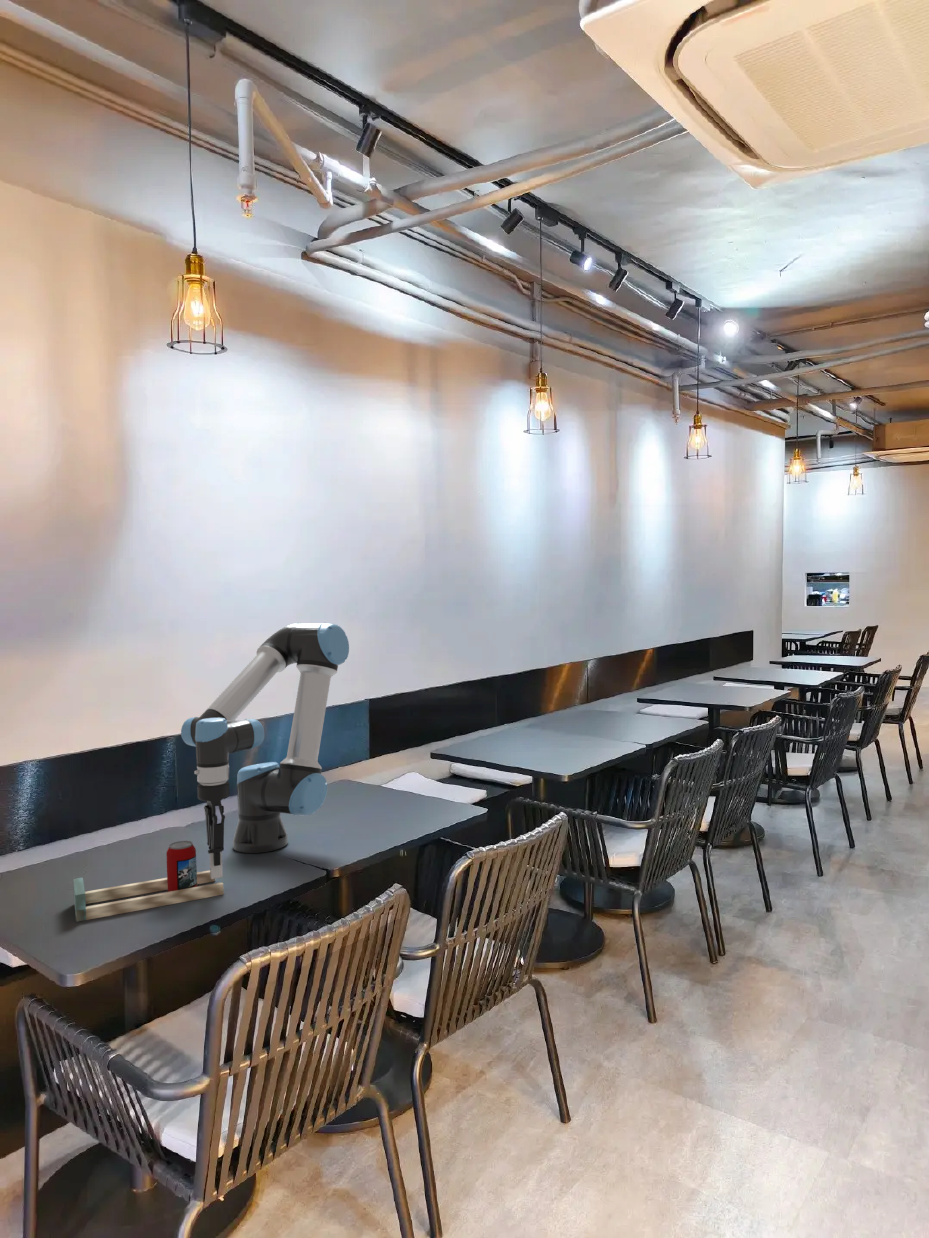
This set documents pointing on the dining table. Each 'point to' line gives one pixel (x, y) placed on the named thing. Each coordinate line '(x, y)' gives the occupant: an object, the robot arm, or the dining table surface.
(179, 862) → the beverage can
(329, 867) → the dining table surface
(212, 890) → the channel
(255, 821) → the robot arm
